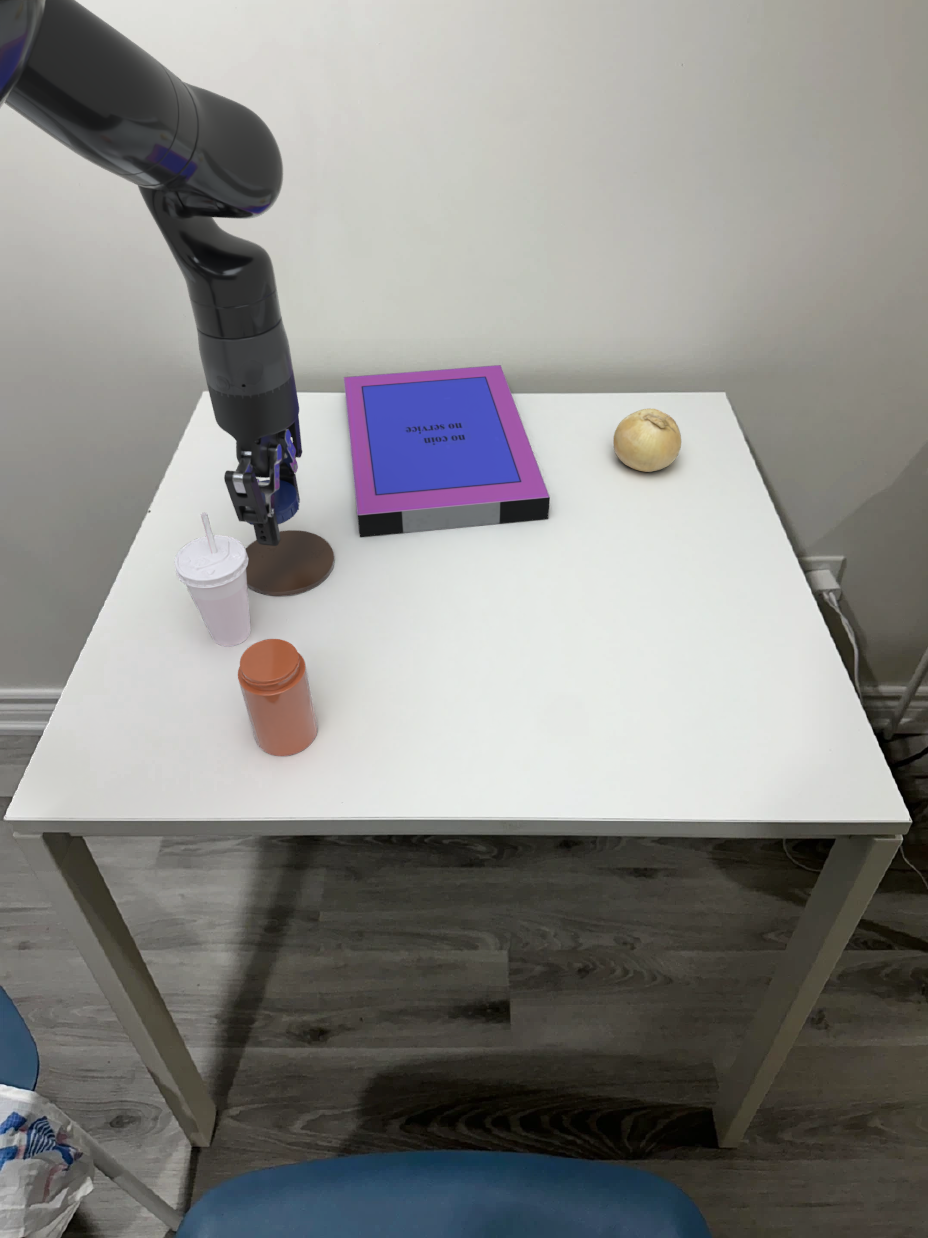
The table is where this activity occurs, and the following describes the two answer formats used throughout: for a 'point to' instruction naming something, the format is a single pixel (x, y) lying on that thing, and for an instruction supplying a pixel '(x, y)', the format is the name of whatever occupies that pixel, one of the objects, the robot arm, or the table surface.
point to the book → (440, 452)
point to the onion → (647, 440)
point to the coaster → (289, 564)
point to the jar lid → (284, 501)
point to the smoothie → (217, 583)
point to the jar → (277, 697)
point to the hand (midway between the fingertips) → (279, 522)
